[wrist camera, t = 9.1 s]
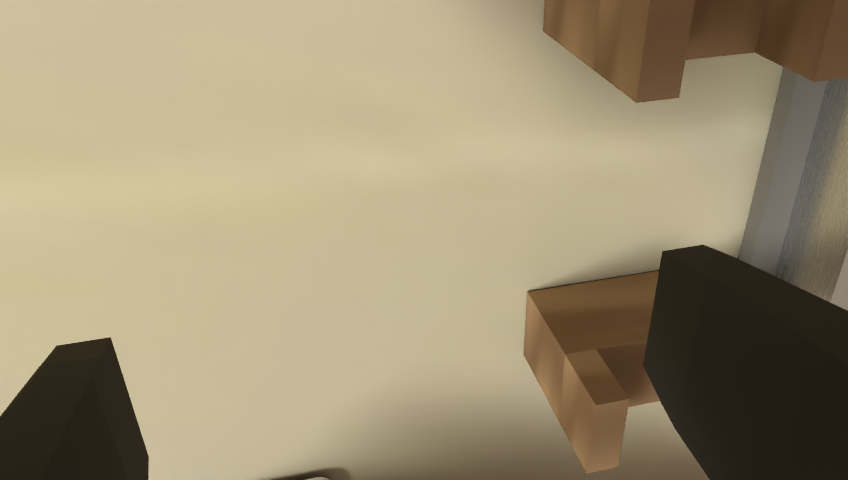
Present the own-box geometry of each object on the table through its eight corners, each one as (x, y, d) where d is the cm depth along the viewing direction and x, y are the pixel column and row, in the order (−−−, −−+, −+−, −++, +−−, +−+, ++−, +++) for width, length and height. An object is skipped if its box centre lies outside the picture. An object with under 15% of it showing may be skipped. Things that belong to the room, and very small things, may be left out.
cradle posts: (659, 330, 25) (747, 439, 21) (523, 354, 24) (586, 473, 20) (736, -90, 18) (890, -52, 14) (549, -77, 17) (654, -33, 13)
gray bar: (818, 353, 27) (829, 364, 27) (710, 374, 27) (720, 385, 26) (1009, -219, 18) (1032, -219, 17) (850, -214, 17) (869, -213, 17)
